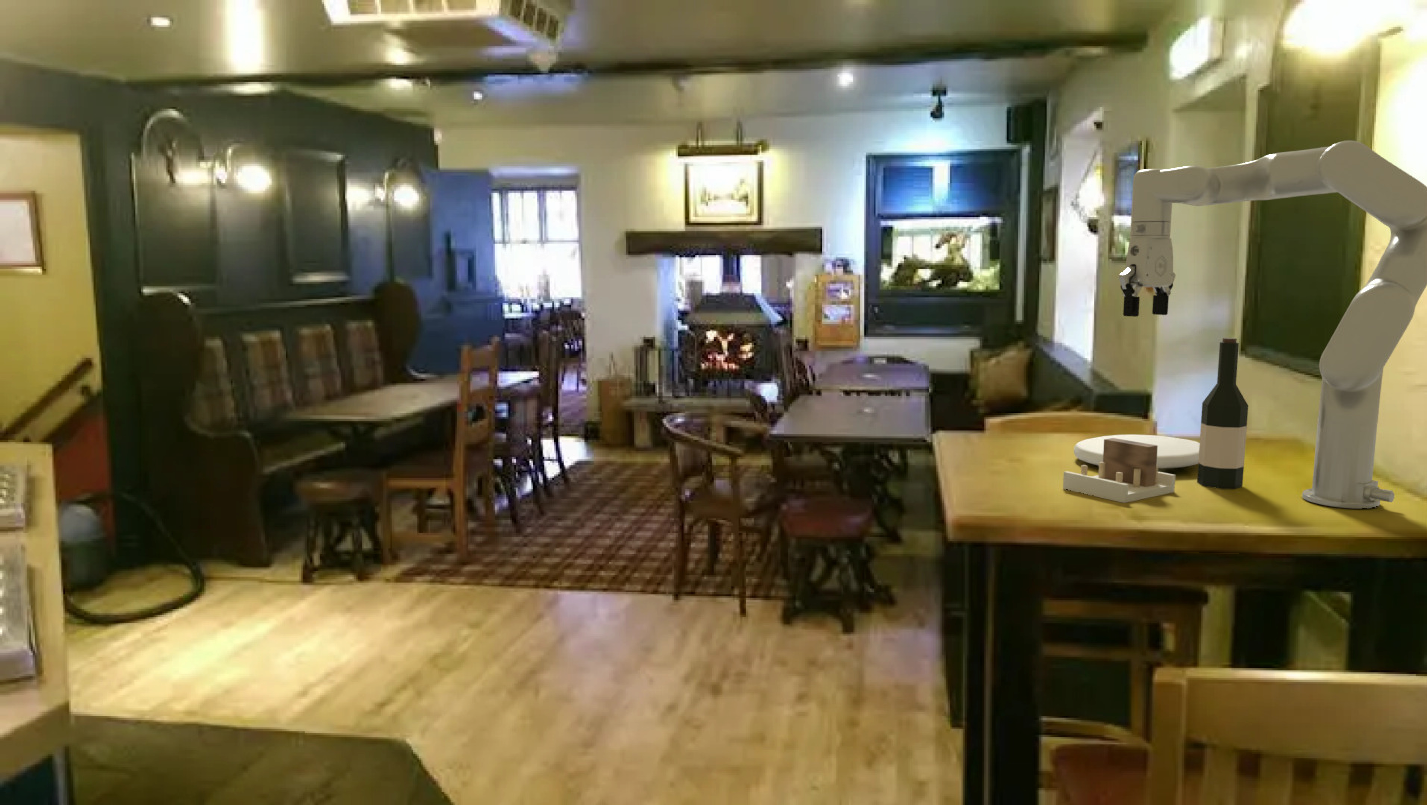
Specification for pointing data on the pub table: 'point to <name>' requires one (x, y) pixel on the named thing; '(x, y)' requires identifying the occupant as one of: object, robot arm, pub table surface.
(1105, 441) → the walnut board
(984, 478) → the pub table surface
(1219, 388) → the wine bottle
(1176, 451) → the plate
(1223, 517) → the pub table surface
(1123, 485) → the rack
